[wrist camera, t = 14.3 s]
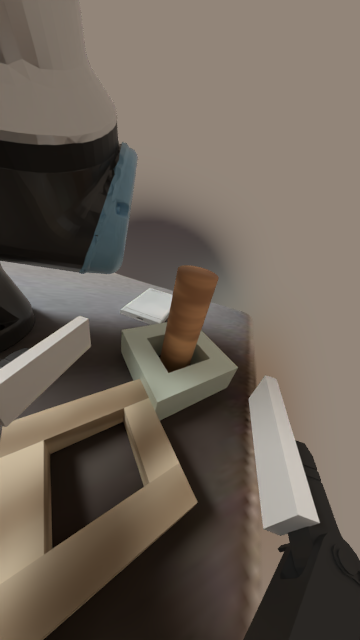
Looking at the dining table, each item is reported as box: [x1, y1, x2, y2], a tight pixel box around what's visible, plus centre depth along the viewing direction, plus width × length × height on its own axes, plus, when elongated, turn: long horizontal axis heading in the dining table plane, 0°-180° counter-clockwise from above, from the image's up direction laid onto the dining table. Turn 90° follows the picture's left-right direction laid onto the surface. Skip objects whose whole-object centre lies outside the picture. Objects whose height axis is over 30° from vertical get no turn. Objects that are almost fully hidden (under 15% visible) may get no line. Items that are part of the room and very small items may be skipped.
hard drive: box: [120, 288, 173, 325], centre depth 38 cm, size 2×8×12 cm
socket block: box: [121, 322, 238, 420], centre depth 24 cm, size 11×11×4 cm
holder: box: [0, 379, 198, 640], centre depth 14 cm, size 11×11×2 cm
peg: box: [160, 265, 218, 373], centre depth 21 cm, size 4×4×14 cm
